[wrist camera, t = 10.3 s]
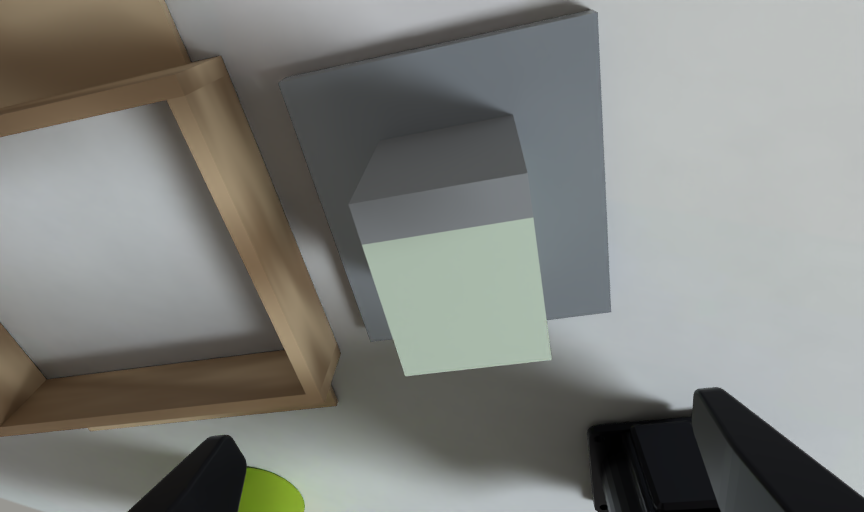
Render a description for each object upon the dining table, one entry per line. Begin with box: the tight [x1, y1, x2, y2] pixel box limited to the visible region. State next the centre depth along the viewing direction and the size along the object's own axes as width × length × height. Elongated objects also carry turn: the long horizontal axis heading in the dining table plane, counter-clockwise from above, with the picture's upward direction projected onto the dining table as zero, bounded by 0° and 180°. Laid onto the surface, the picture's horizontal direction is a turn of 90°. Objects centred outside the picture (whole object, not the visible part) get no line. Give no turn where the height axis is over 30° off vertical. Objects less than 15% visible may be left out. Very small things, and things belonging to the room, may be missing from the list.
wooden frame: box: [0, 0, 341, 437], centre depth 20 cm, size 19×16×3 cm
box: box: [348, 115, 552, 376], centre depth 16 cm, size 6×4×5 cm
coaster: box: [278, 10, 611, 342], centre depth 18 cm, size 11×10×1 cm
